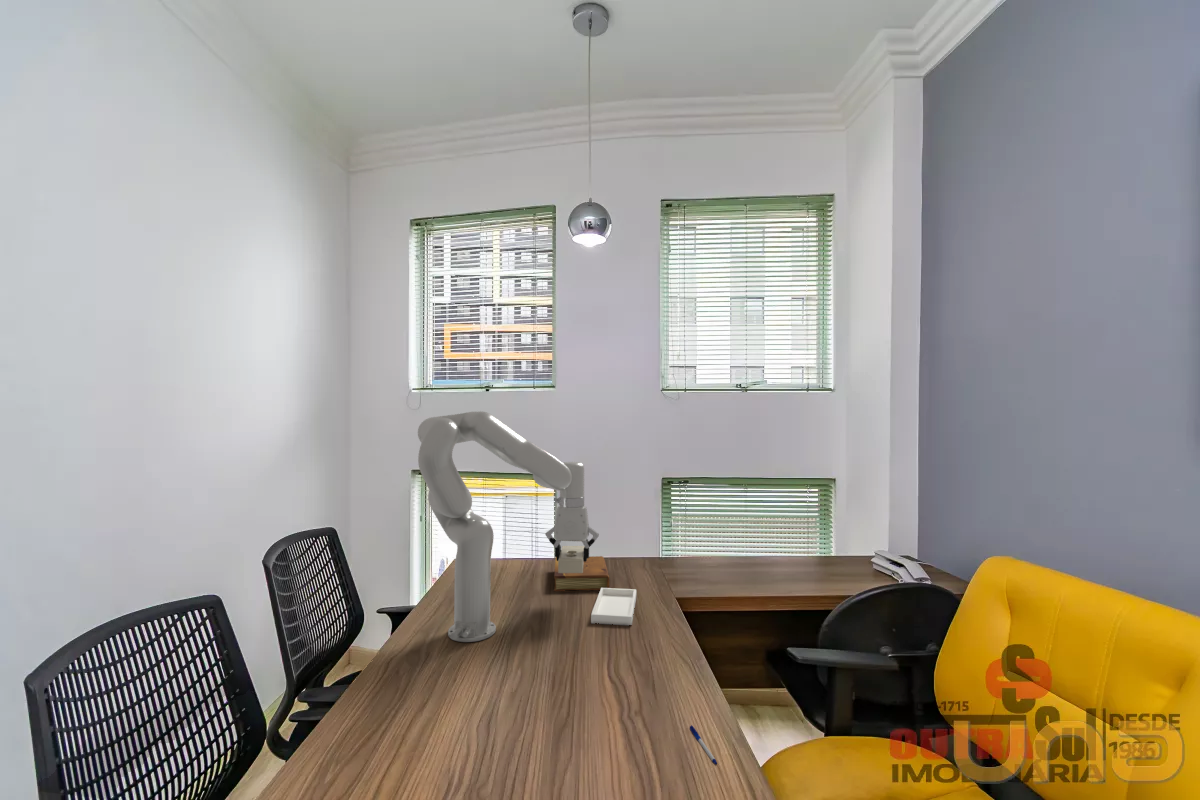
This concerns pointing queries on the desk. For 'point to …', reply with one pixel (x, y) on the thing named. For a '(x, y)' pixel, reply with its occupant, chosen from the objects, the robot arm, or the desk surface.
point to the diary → (584, 576)
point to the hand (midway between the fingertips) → (572, 559)
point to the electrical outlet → (571, 559)
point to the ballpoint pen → (702, 744)
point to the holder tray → (614, 606)
